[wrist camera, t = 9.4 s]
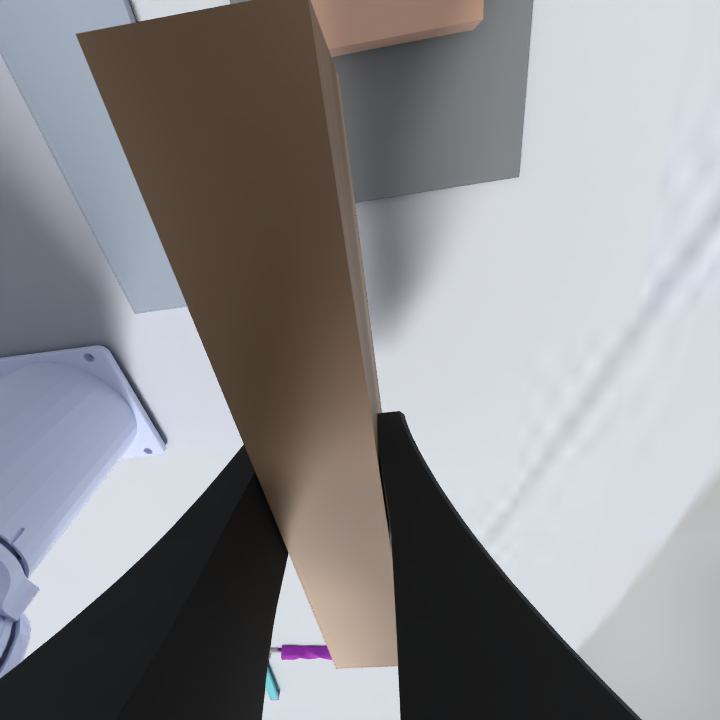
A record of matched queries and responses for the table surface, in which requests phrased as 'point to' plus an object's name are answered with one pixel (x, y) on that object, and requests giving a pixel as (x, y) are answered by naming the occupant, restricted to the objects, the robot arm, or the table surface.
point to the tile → (391, 21)
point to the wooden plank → (269, 276)
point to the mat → (438, 106)
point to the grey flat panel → (87, 137)
